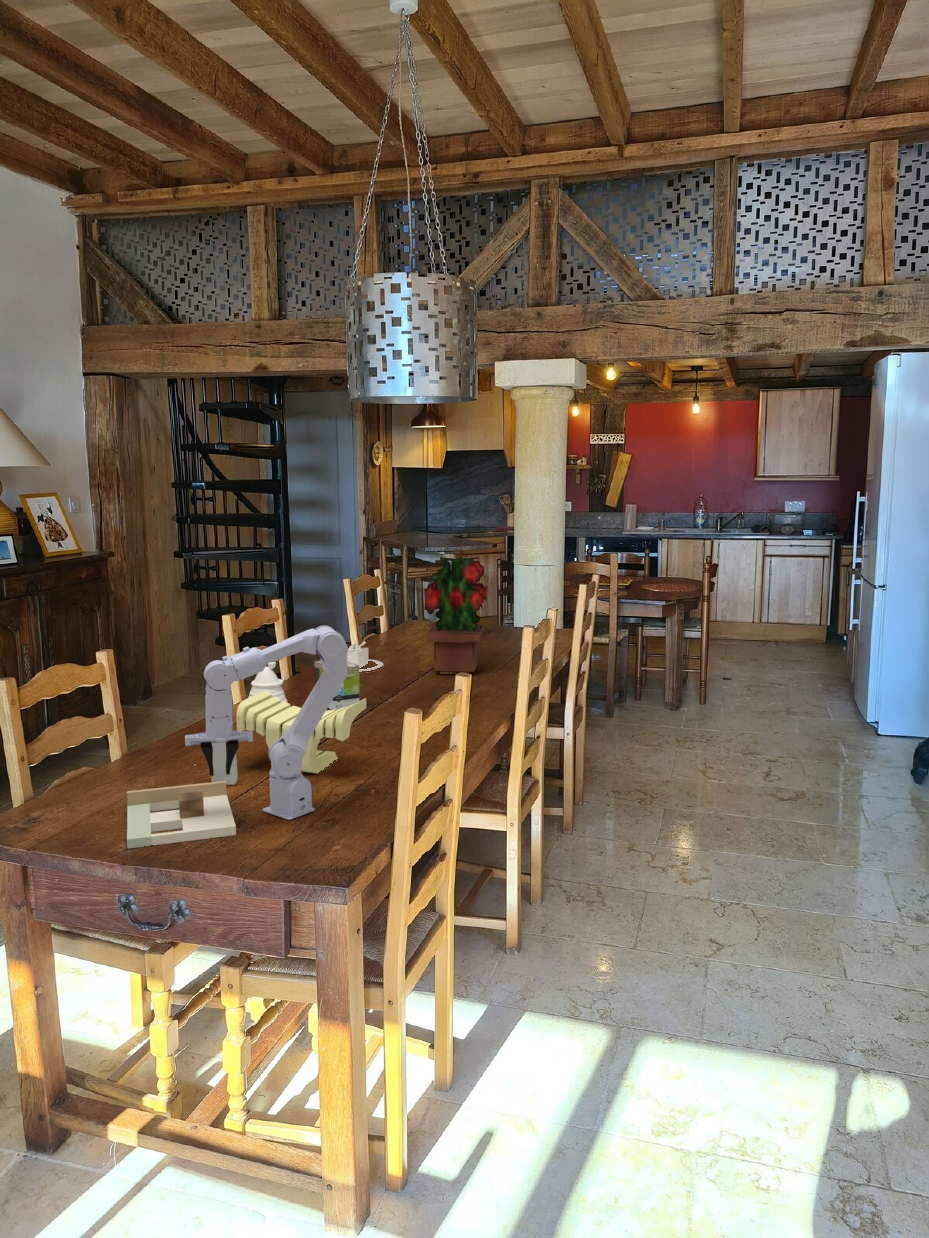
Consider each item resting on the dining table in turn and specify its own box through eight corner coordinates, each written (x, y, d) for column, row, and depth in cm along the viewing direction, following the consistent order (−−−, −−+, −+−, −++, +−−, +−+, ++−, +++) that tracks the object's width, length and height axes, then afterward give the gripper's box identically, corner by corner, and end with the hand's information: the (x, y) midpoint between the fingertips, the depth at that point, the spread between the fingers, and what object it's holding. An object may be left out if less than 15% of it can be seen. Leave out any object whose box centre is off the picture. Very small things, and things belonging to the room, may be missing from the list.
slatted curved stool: (238, 769, 239) (235, 703, 236) (267, 752, 254) (265, 690, 252) (343, 780, 231) (342, 712, 228) (367, 761, 246) (366, 697, 243)
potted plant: (486, 666, 370) (486, 556, 363) (481, 678, 348) (482, 561, 341) (432, 665, 372) (431, 556, 365) (424, 677, 350) (424, 561, 343)
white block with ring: (392, 663, 378) (391, 636, 376) (369, 675, 354) (369, 647, 352) (337, 660, 384) (337, 633, 383) (311, 672, 361) (311, 644, 359)
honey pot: (292, 713, 297) (291, 659, 294) (281, 723, 284) (279, 667, 281) (254, 711, 298) (252, 658, 295) (241, 722, 285) (239, 666, 282)
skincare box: (238, 779, 231) (236, 733, 229) (235, 785, 227) (233, 738, 225) (213, 780, 231) (211, 734, 229) (210, 786, 226) (208, 739, 224)
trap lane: (226, 800, 216) (225, 780, 215) (236, 834, 195) (235, 812, 195) (127, 812, 208) (126, 791, 208) (127, 848, 188) (126, 825, 187)
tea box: (360, 708, 303) (360, 664, 301) (333, 712, 298) (332, 668, 295) (340, 699, 316) (339, 657, 313) (314, 703, 310) (313, 660, 308)
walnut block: (202, 808, 206) (201, 791, 205) (204, 815, 201) (203, 798, 200) (179, 810, 204) (178, 793, 203) (180, 818, 199) (179, 801, 199)
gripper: (185, 721, 195) (186, 782, 197) (254, 717, 200) (254, 776, 202) (184, 713, 202) (185, 772, 204) (250, 709, 207) (251, 767, 209)
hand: (219, 773), depth 203 cm, fingers open, 3 cm apart
